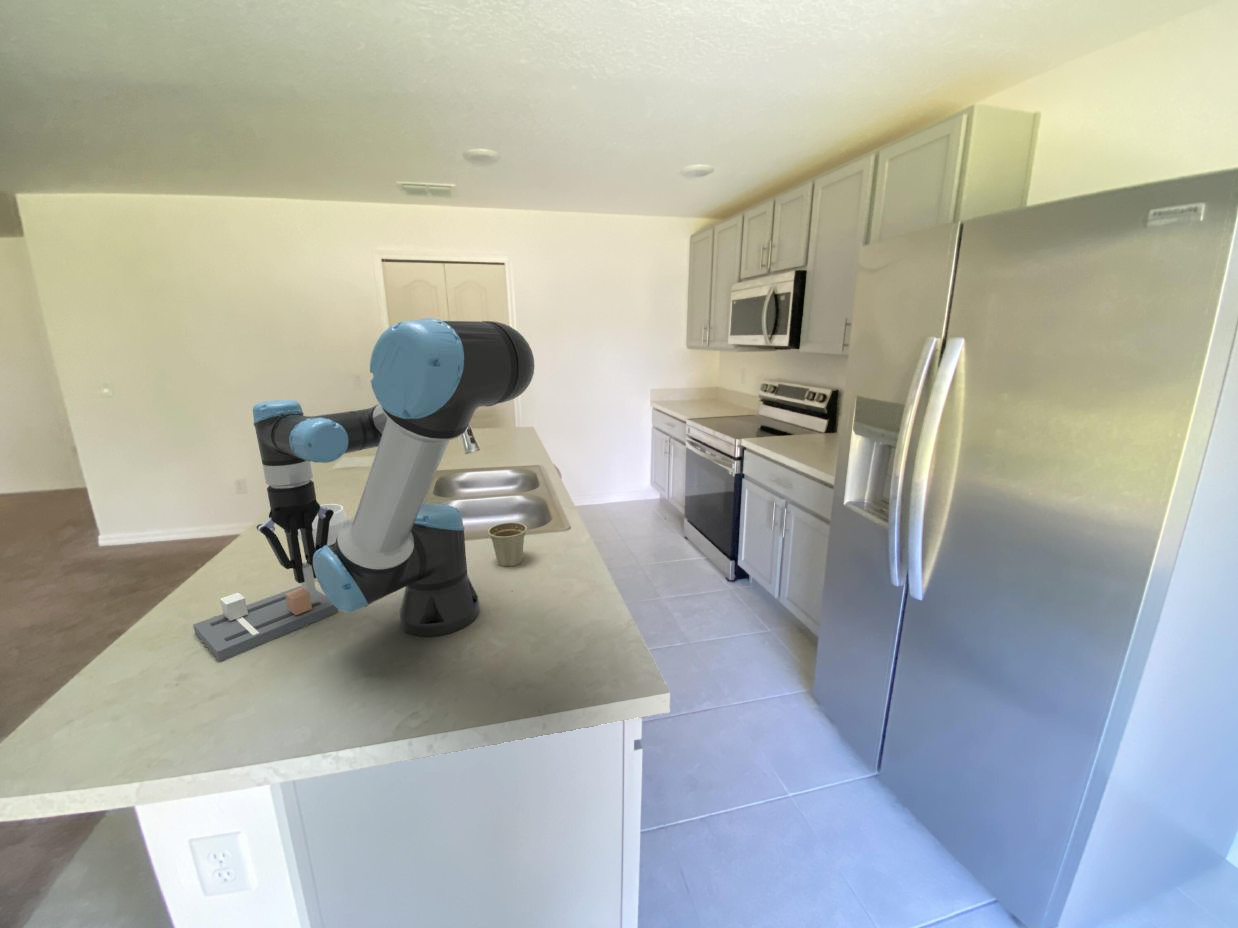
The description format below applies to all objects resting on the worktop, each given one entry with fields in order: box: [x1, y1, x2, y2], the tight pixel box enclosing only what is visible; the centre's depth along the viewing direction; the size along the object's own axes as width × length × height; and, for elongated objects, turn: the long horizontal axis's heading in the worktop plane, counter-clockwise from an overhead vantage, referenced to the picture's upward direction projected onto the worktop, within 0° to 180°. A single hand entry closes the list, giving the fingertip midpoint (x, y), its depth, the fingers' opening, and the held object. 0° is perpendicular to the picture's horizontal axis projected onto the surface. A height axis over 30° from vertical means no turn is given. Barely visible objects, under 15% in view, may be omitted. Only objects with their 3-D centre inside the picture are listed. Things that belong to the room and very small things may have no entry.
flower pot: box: [487, 522, 528, 567], centre depth 124 cm, size 9×9×9 cm
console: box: [192, 585, 339, 663], centre depth 99 cm, size 14×20×2 cm
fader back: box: [219, 592, 248, 621], centre depth 97 cm, size 4×3×4 cm
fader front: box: [285, 588, 312, 616], centre depth 99 cm, size 4×3×4 cm
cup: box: [298, 503, 349, 546], centre depth 120 cm, size 11×11×15 cm
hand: (309, 594), depth 101 cm, fingers closed
